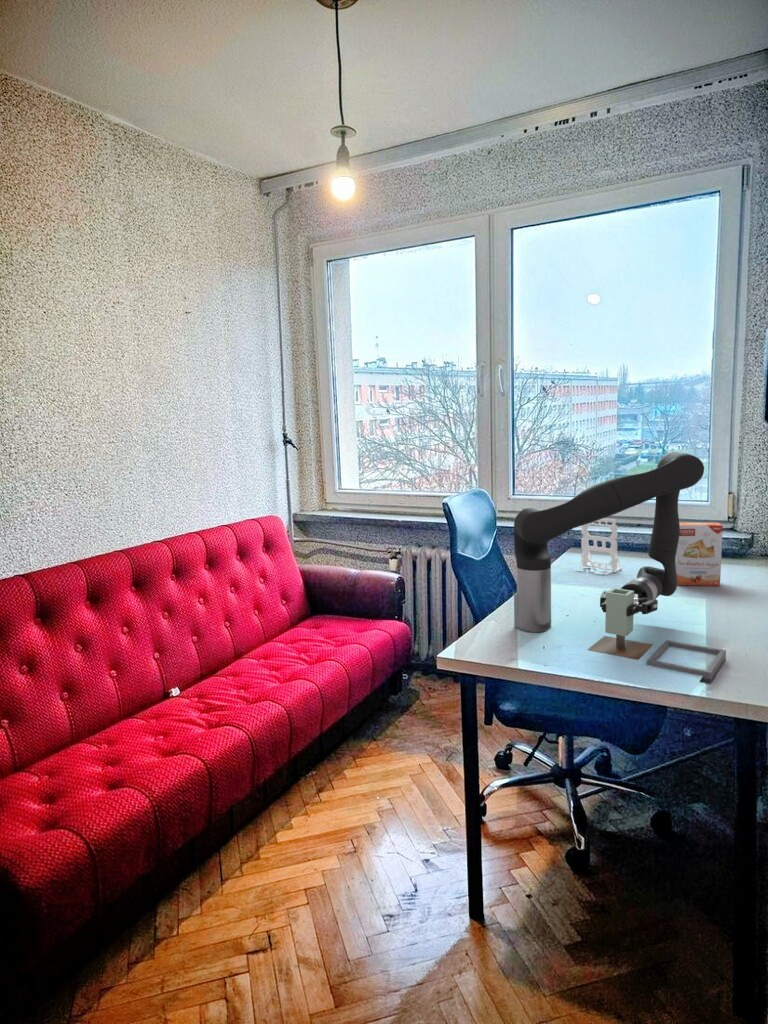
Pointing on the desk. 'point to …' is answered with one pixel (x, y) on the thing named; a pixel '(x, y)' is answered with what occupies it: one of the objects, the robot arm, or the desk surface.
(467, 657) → the desk surface
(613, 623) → the sleeve
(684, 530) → the cracker box
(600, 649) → the board
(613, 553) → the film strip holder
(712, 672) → the grey tray
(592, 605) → the desk surface
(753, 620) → the desk surface
